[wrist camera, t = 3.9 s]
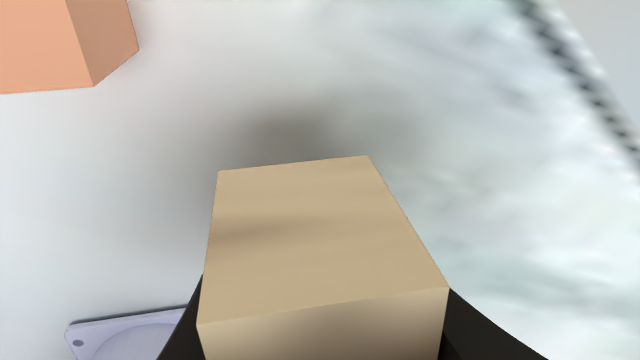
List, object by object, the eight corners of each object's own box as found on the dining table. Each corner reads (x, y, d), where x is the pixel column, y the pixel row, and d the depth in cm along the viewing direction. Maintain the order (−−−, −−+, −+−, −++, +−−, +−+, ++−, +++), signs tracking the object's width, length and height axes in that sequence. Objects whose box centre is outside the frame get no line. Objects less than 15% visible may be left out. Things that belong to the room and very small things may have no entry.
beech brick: (364, 309, 14) (418, 471, 9) (248, 328, 13) (248, 507, 9) (367, 154, 11) (449, 286, 6) (218, 170, 10) (196, 324, 6)
